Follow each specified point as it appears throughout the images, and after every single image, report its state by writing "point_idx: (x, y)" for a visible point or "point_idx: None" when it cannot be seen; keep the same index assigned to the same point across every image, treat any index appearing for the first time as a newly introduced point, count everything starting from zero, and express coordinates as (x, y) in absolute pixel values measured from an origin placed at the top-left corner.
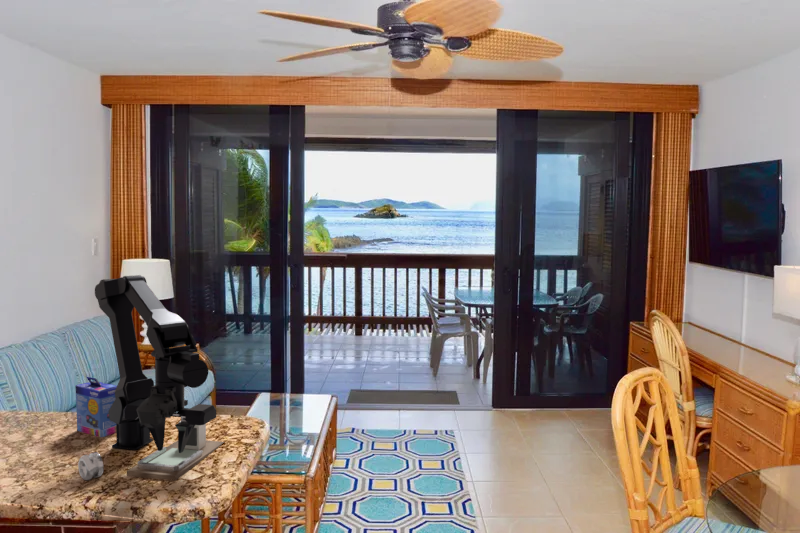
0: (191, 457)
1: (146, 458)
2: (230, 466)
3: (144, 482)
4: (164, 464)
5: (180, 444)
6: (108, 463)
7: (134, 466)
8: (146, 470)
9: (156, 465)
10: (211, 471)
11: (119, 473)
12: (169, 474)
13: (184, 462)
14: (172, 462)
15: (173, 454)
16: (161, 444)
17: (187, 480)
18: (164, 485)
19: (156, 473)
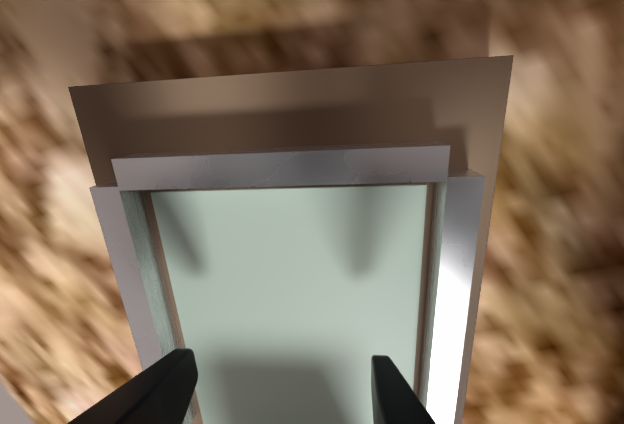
0: (136, 339)
1: (446, 261)
2: (20, 346)
3: (290, 12)
4: (217, 187)
5: (105, 406)
6: None
7: (496, 163)
8: (346, 118)
9: (266, 153)
10: (47, 278)
11: (587, 105)
12: (126, 100)
13: (112, 258)
14: (255, 286)
15: (337, 392)
16: (374, 421)
17: (60, 136)
18: (124, 14)
19: (231, 89)
